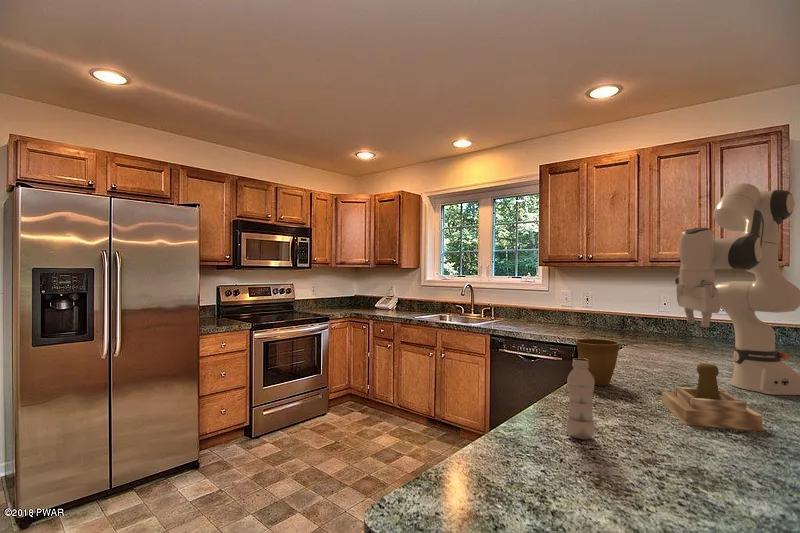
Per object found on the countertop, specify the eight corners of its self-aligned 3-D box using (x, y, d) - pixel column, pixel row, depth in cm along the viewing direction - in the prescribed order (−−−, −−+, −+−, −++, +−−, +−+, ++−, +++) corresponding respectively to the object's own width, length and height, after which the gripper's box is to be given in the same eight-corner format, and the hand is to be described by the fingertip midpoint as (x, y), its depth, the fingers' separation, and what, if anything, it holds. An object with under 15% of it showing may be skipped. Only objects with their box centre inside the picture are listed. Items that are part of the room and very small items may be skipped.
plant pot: (621, 381, 159) (620, 340, 159) (617, 391, 146) (617, 346, 146) (579, 376, 167) (579, 336, 167) (573, 384, 154) (572, 342, 154)
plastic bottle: (562, 433, 109) (561, 357, 109) (586, 432, 109) (586, 356, 109) (574, 443, 102) (574, 362, 102) (600, 442, 103) (600, 362, 103)
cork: (725, 405, 117) (725, 367, 117) (702, 404, 118) (702, 366, 118) (712, 398, 123) (712, 362, 123) (690, 398, 124) (690, 361, 124)
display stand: (727, 409, 127) (727, 388, 127) (762, 431, 110) (762, 406, 110) (662, 404, 132) (662, 383, 132) (685, 424, 114) (685, 401, 114)
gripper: (726, 281, 117) (727, 329, 117) (693, 278, 136) (694, 320, 136) (701, 281, 118) (701, 329, 118) (672, 278, 138) (673, 319, 138)
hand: (697, 324), depth 127 cm, fingers open, 8 cm apart
